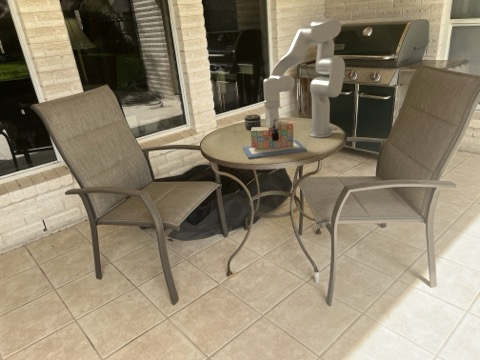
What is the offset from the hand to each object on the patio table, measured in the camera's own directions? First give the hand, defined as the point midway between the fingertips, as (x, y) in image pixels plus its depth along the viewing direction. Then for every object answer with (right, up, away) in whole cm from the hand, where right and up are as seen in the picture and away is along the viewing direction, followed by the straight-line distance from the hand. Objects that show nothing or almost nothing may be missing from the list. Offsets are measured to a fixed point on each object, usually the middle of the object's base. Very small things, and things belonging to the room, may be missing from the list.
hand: (273, 138), depth 189 cm
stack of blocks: (0, -4, +2) cm, 4 cm away
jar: (-9, +11, +42) cm, 45 cm away
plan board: (0, -6, +3) cm, 6 cm away
